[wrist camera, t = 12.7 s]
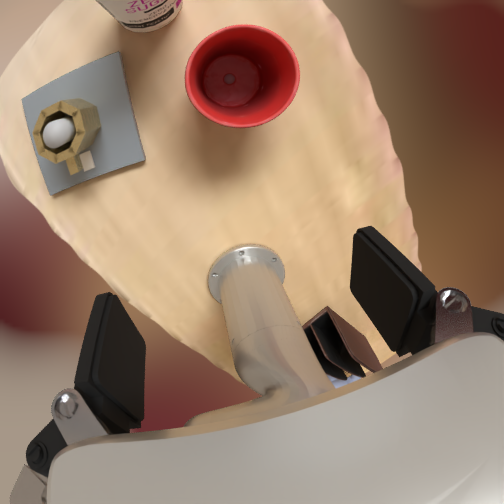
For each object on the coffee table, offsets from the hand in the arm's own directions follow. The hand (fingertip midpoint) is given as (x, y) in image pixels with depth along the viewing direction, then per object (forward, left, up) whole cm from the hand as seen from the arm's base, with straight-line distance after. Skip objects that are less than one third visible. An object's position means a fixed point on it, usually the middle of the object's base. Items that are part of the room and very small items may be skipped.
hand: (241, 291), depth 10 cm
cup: (+7, +15, -27) cm, 32 cm away
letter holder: (-46, -18, -29) cm, 57 cm away
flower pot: (+8, -5, -29) cm, 30 cm away
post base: (+8, +15, -28) cm, 33 cm away
